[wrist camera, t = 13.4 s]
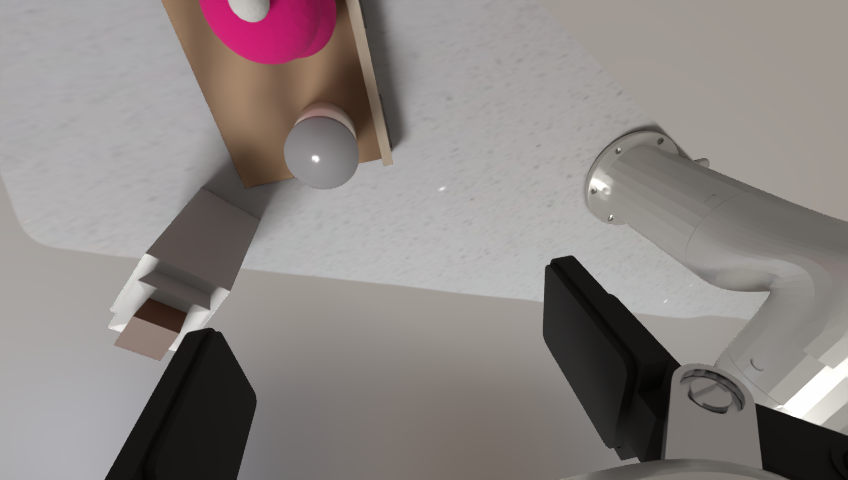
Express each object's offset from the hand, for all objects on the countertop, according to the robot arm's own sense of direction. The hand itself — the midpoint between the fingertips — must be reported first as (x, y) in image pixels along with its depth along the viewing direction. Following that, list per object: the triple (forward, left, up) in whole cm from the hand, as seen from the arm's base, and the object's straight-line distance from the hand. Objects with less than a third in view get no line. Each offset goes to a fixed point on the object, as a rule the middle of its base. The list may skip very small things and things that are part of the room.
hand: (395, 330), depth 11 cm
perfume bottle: (+19, +10, -34) cm, 40 cm away
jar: (+4, +2, -33) cm, 33 cm away
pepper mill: (+3, -9, -33) cm, 34 cm away
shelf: (+6, -4, -34) cm, 34 cm away
